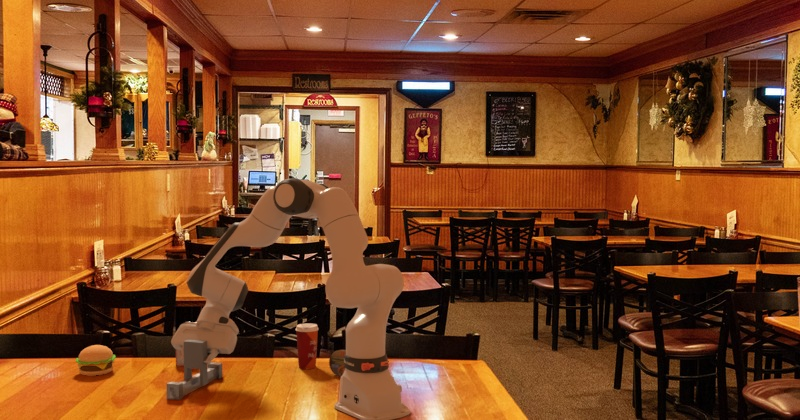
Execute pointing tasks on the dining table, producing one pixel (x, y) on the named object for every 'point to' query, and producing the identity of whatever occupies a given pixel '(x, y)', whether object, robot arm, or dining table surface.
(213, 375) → the rail
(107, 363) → the hamburger
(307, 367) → the paper cup
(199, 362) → the clip
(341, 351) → the tin
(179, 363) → the printed food carton
